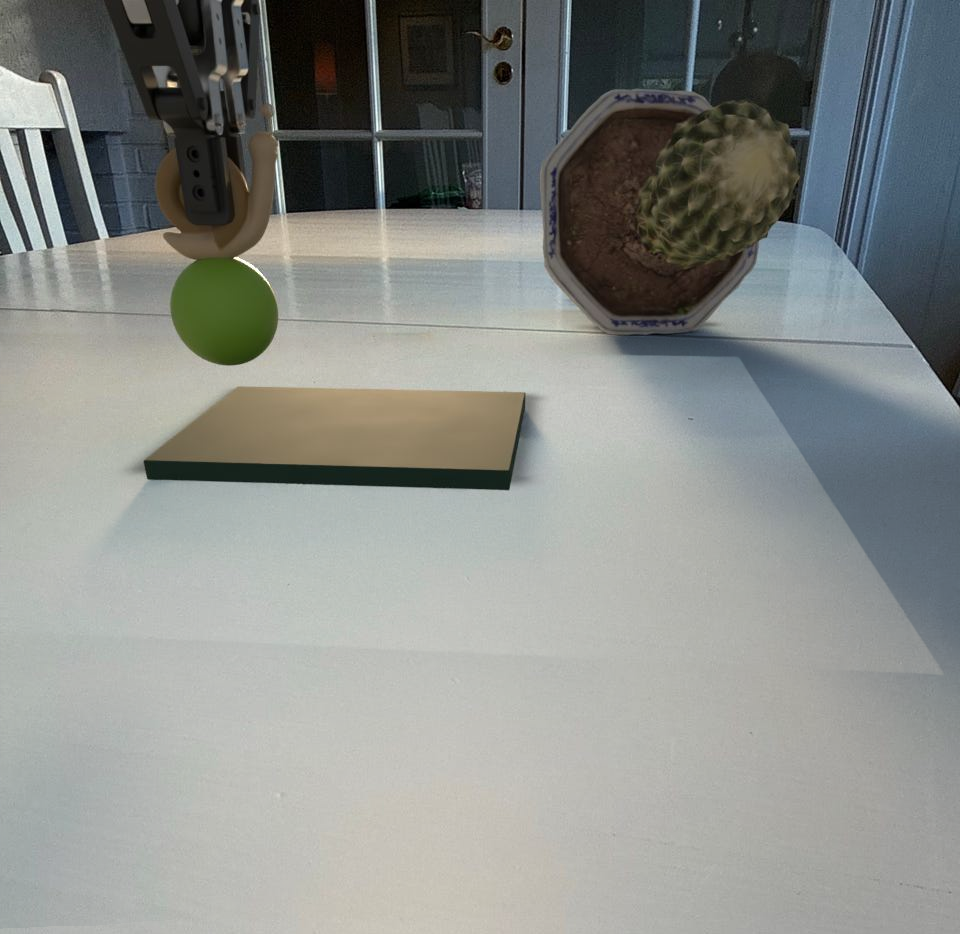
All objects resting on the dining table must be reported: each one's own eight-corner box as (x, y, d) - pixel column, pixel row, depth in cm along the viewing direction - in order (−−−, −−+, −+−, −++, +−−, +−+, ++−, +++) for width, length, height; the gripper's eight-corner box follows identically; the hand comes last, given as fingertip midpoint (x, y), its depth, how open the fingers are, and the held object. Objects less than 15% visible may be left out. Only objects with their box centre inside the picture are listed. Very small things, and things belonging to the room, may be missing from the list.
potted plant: (510, 129, 78) (614, -15, 50) (705, 138, 81) (909, 7, 53) (508, 340, 83) (601, 319, 55) (692, 342, 86) (871, 323, 58)
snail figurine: (294, 376, 46) (263, 104, 40) (169, 378, 46) (117, 106, 40) (308, 350, 51) (282, 103, 44) (194, 352, 51) (152, 104, 44)
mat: (146, 479, 44) (142, 460, 44) (239, 402, 56) (237, 386, 56) (509, 490, 43) (509, 470, 42) (525, 408, 55) (525, 391, 54)
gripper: (137, -199, 42) (197, 209, 51) (-36, -321, 30) (82, 238, 39) (293, -205, 41) (327, 209, 50) (178, -331, 30) (249, 239, 38)
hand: (219, 220), depth 45 cm, fingers closed on snail figurine
